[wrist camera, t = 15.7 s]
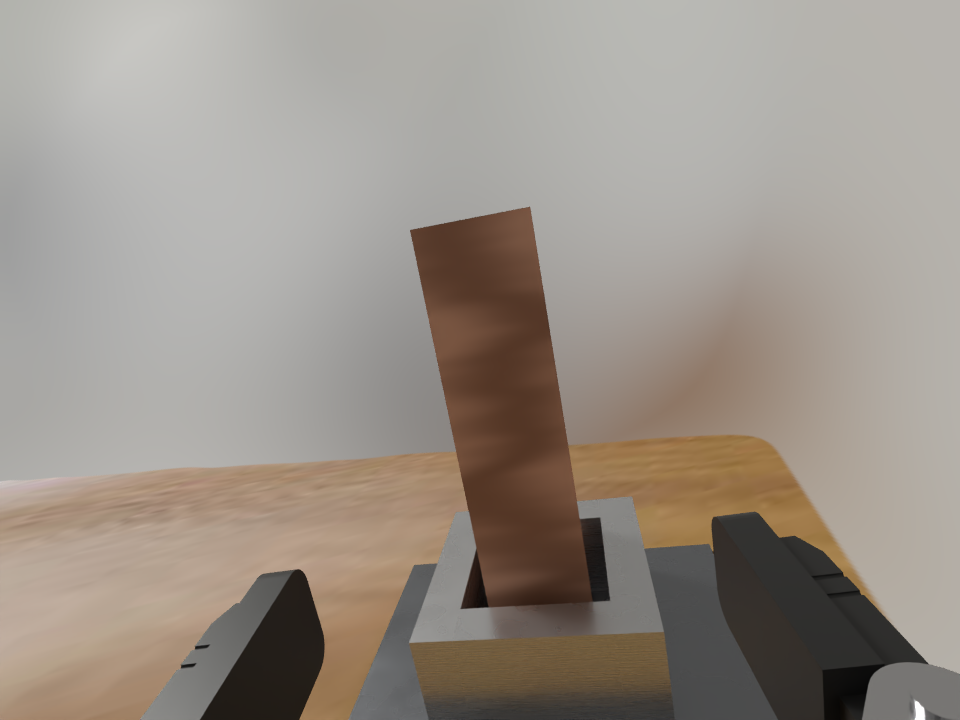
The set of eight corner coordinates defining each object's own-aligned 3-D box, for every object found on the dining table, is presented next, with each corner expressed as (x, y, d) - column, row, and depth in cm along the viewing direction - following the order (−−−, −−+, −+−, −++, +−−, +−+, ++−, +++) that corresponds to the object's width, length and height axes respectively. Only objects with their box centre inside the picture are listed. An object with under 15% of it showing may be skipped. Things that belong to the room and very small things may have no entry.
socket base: (332, 794, 20) (296, 682, 18) (417, 580, 31) (398, 502, 30) (811, 801, 17) (804, 667, 15) (710, 560, 28) (702, 473, 27)
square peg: (504, 681, 22) (410, 230, 18) (506, 613, 26) (429, 230, 22) (603, 671, 21) (530, 206, 17) (590, 603, 25) (527, 210, 21)
